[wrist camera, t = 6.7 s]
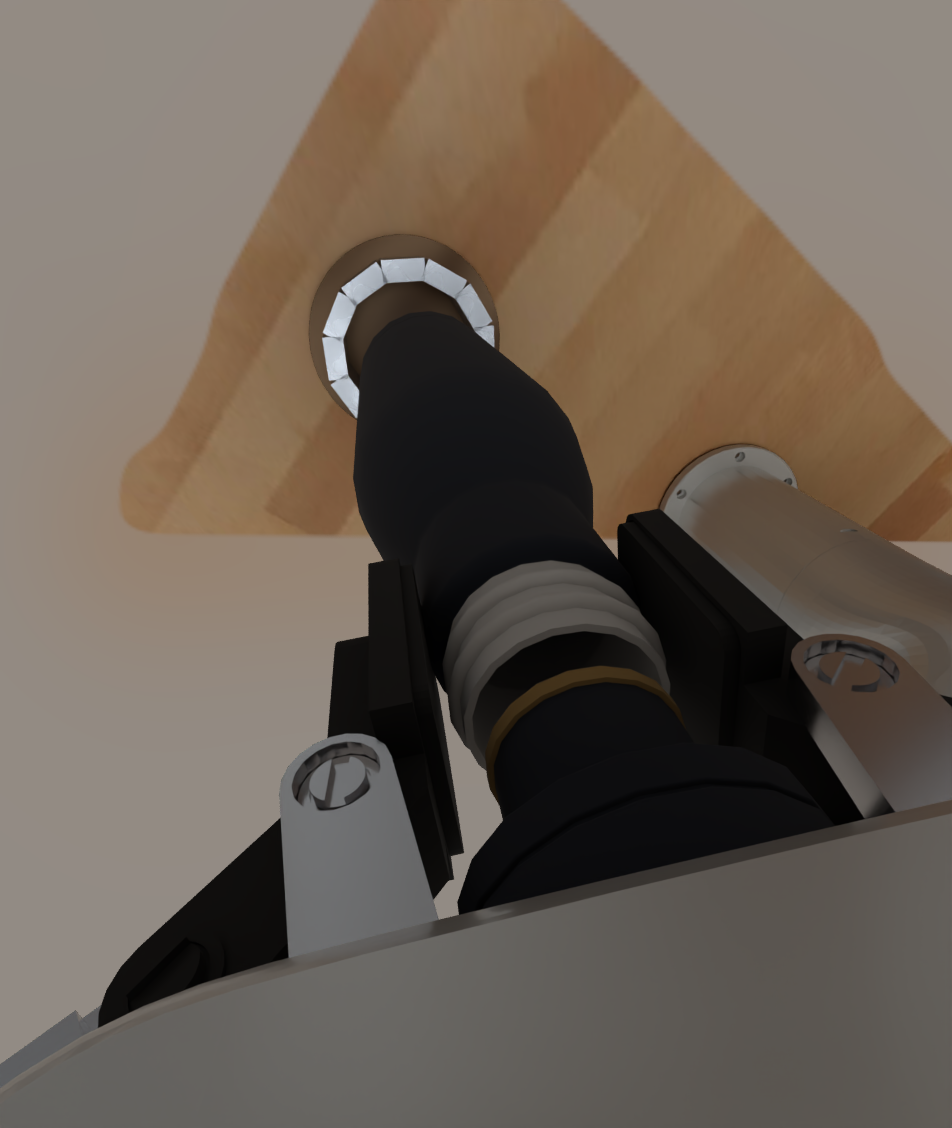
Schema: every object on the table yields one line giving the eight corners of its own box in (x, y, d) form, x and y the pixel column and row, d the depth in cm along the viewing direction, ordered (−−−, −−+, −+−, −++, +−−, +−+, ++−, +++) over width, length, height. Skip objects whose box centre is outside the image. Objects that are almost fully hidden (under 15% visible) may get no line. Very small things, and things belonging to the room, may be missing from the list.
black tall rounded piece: (498, 315, 29) (1756, 1003, 3) (486, 448, 32) (1041, 1411, 6) (359, 305, 28) (208, 1293, 2) (360, 444, 31) (307, 1616, 4)
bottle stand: (527, 294, 44) (551, 302, 38) (447, 456, 48) (458, 485, 42) (354, 194, 39) (352, 186, 34) (283, 383, 44) (271, 404, 38)
